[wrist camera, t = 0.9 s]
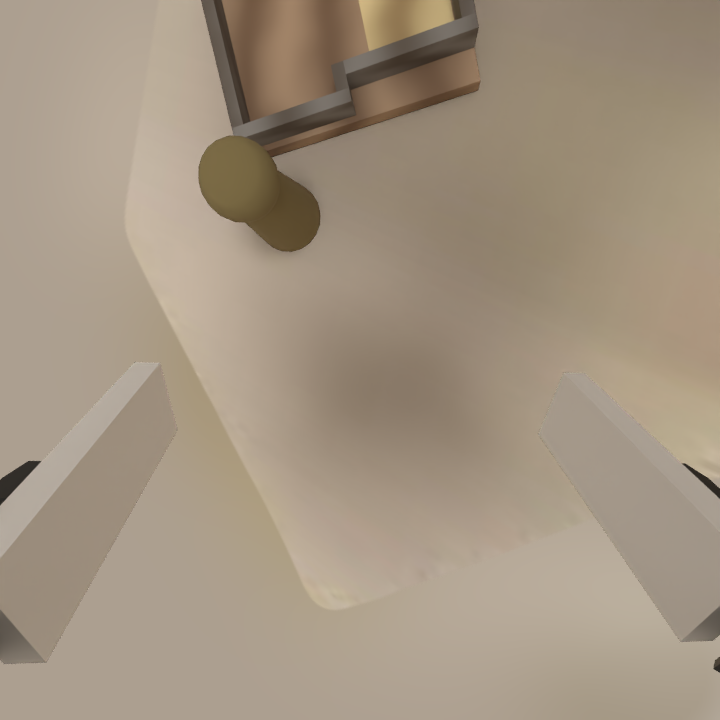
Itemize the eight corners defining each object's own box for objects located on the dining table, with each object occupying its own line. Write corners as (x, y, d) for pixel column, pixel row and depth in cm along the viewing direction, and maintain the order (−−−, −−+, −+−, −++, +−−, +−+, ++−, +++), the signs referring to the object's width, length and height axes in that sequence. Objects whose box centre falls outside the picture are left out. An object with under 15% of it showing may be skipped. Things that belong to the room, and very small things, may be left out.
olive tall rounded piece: (245, 230, 34) (166, 191, 23) (276, 170, 33) (207, 99, 22) (300, 264, 34) (244, 239, 23) (332, 203, 32) (290, 148, 22)
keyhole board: (441, -110, 28) (444, -163, 25) (477, 90, 30) (485, 63, 26) (212, -12, 32) (189, -48, 29) (253, 162, 33) (236, 146, 30)
